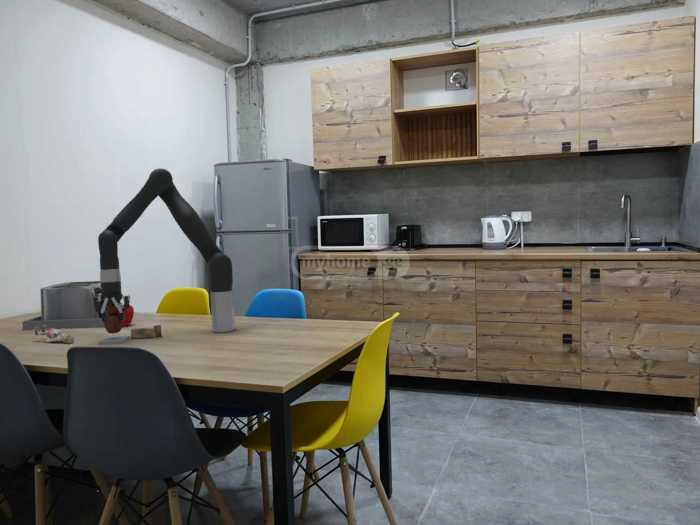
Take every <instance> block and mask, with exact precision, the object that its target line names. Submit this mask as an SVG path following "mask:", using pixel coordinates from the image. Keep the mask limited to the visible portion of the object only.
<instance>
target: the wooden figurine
mask: <svg viewBox="0 0 700 525" xmlns="http://www.w3.org/2000/svg"><path fill="white" fill-rule="evenodd" d="M106 312H107V314H109V315H107V316H106V317H105V320H104V325H105V327H104V328H105V330H106V332H107V333H108V334H117V333H120V332H121V330H122V328H123V327H122V322H120V320H119V314H117V313H118V312H119V310H118V308H116V306H113V305H112V299H111V296H110V306H107V308H106Z"/></svg>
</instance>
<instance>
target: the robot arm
mask: <svg viewBox="0 0 700 525" xmlns="http://www.w3.org/2000/svg"><path fill="white" fill-rule="evenodd" d="M158 197H159V198H160V200H162V201H163V203H164V204H165V205H166V207H167V208H168V210H169V212H170V214H171V216H172V218H173V219H174V221H175V222H176V224H177V225H178V226H179V228H180V230H181V231H182V232H183V233H184V235H185V236H186V238H187V239H188V240H189V242H191V243H192V244H193V246H194V247H195V248H196V249H197V250H198V251H199V253H200V254H201V256H202V258H203V259H204V262H205V263H206V265H207V267H208V269H209V273H210V274H209V275H210V276H209V277H210V278H209V279H210V280H209V281H210V284H209V289H210V290H209V292H210V308H211V309H210V310H211V328H212V332H213V333H227V332H234V331H235V330H236V313H235V312H236V311H235V307H234V301H233V300H234V298H233V284H234V282H233V278H234V277H233V263H232V259H231V258H230V257H229V256H228V255H227V254H225V253H224V252H223V251H222V250H221V249H220V247H218V245H217V244H216V243H215V242H214V240H213V238H212V235H211V233H210V232H209V229H208V227H207V226H206V224H205V222H204V221H203V219H202V218H201V216H200V215H199V214H198V211H196V209H195V208H193V207H192V206H191V204H190V203H189V202H188V201H187V200H186V199H185V198H184V197H183V196H182V195H181V193H180V192H179V190H178V189H177V187H176V185H175V184H174V180H173V175H172V174H171V172H170V171H169V170H167V169H165V168H163V167H162V168H156V169H154V170H152V171H151V172H150V174H149V176H148V178H147V179H146V181H145V183H144V184H143V186H142V187H141V189H140V190H139V191H138V193H136V195H134V197H133V198H132V199H131V200H130V201H128V203H127V204H126V205H125V206H124V207H123V208H122V209H121V210H120V211H119V212H118V213H117V215H115V217H114V219H113V220H112V221H111V222H110V224H108V226H106V228H105V229H104V230H102V232H100V234H98V238H97V240H98V241H97V242H98V243H97V244H98V249H99V250H98V251H99V268H100V270H99V273H100V274H99V281H100V282H101V293H102V294H101V296H100V297H94V304H95V308H96V312H100V313H101V316H102V321H103V322H104V320H105V317H106V316H107V313H106V308H107V306H110V296H111V299H112V305H113V306H116V308H118V310H119V312H120V313H119V320H120V322H123V320H124V319H125V315H124V312H125V311H127V310H129V305H130V301H131V300H130V299H131V296H130V295H123V294H122V278H121V270H120V261H119V255H118V254H119V252H118V250H119V249H118V246H119V245H118V242H120V240H121V238H122V237H123V236H124V235H125V234H126V232H128V231H129V230H130V229H131V228H132V227H133V225H135V223H136V222H137V221H138V220H139V218H140V217H142V215H143V214H144V212H145V211H146V210H147V209H148V207H149V206H150V205H151V203H153V202H154V200H155V199H157V198H158ZM101 299H102V301H103V302H104V303H103V306H102V309H101V304H100V301H101ZM122 300H123V302H121V301H122ZM122 303H123V304H122ZM123 305H124V308H123Z"/></svg>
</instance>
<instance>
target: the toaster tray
mask: <svg viewBox="0 0 700 525" xmlns="http://www.w3.org/2000/svg"><path fill="white" fill-rule="evenodd" d="M21 324H22V331H31V330H30V329H35V327H40V329H41V330H42V326H43V325H46V326H47V330H49V329H51V328H55V329H58V330H61V329H60V328H70V329H91V328H92V329H93V328H94V329H95V328H99V329H100V328H105V325H104V322H103V321H102V319H73V320H44V321H41V315H39V316H36V317H33V318H30V319H29V318H28V319H26V320H24V321H22V323H21Z"/></svg>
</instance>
